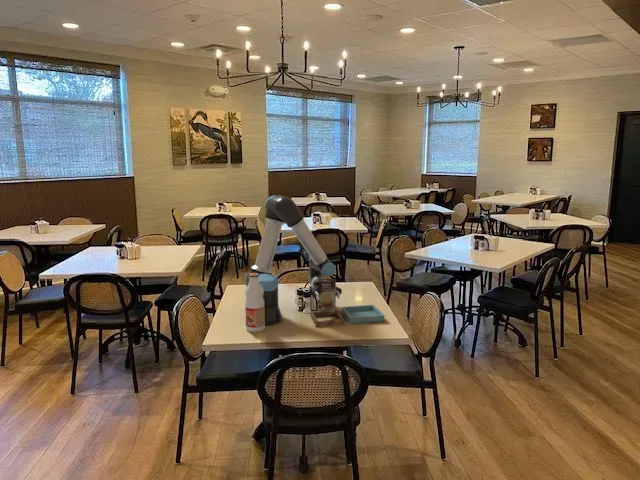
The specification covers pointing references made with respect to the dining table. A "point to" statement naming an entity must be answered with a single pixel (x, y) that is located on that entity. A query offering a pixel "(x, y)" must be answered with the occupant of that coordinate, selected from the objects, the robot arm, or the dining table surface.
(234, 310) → the dining table surface
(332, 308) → the coffee box
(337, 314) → the walnut frame
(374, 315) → the teal tray
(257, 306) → the fruit juice
